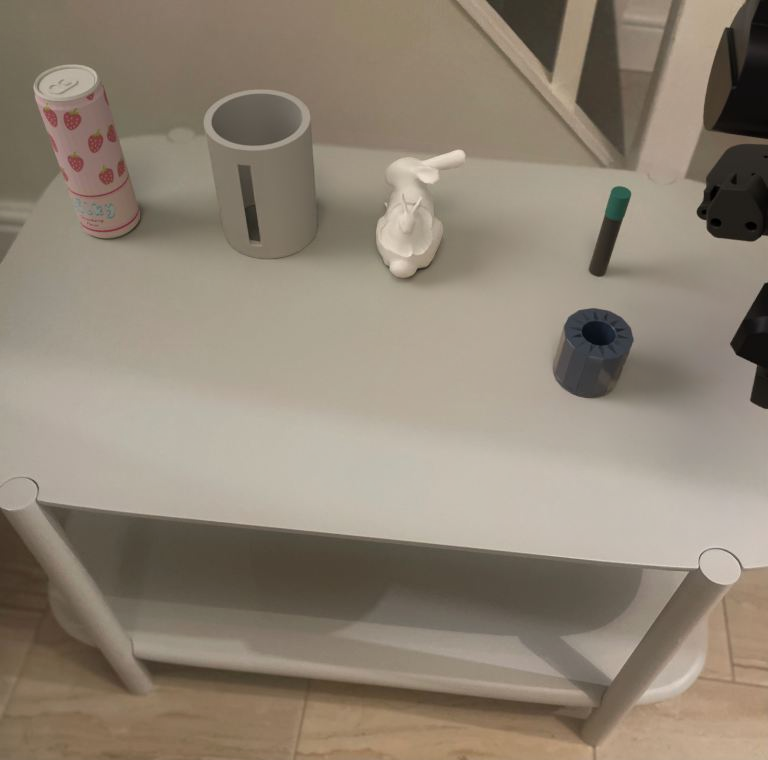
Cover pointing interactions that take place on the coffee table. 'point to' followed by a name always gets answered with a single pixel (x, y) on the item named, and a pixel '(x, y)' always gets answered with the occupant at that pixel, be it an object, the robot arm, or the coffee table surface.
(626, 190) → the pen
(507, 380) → the coffee table surface
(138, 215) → the beverage can
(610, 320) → the pen cup
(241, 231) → the cup
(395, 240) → the rabbit figurine
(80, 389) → the coffee table surface
